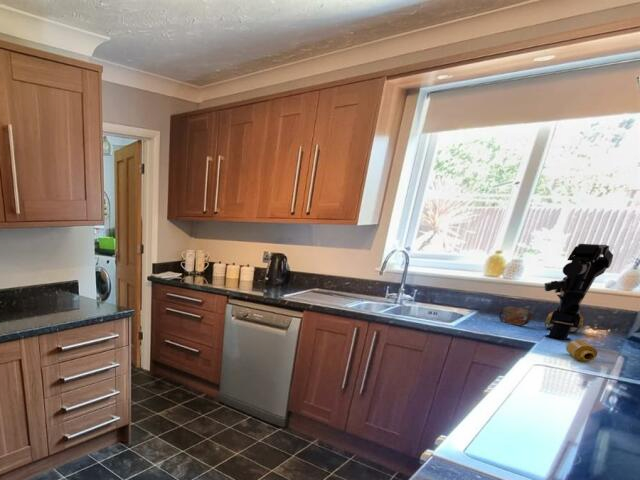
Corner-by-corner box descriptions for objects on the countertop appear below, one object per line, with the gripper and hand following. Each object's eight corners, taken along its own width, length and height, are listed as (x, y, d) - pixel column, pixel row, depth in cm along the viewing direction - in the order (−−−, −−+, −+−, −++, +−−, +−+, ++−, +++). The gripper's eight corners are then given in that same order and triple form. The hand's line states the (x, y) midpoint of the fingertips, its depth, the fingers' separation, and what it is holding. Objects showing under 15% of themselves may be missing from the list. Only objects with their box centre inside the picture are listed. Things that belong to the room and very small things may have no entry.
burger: (565, 328, 215) (573, 308, 211) (587, 335, 202) (596, 314, 199) (535, 326, 217) (543, 306, 213) (555, 332, 204) (564, 312, 201)
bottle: (581, 336, 166) (594, 345, 154) (591, 349, 165) (605, 358, 154) (562, 345, 170) (573, 354, 158) (571, 357, 169) (583, 367, 157)
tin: (496, 320, 227) (502, 304, 224) (501, 320, 227) (507, 304, 224) (523, 327, 213) (530, 310, 210) (529, 327, 213) (535, 310, 210)
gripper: (546, 271, 188) (532, 306, 194) (554, 275, 174) (539, 312, 180) (581, 274, 182) (565, 310, 188) (592, 278, 168) (575, 317, 174)
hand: (560, 312), depth 182 cm, fingers closed
